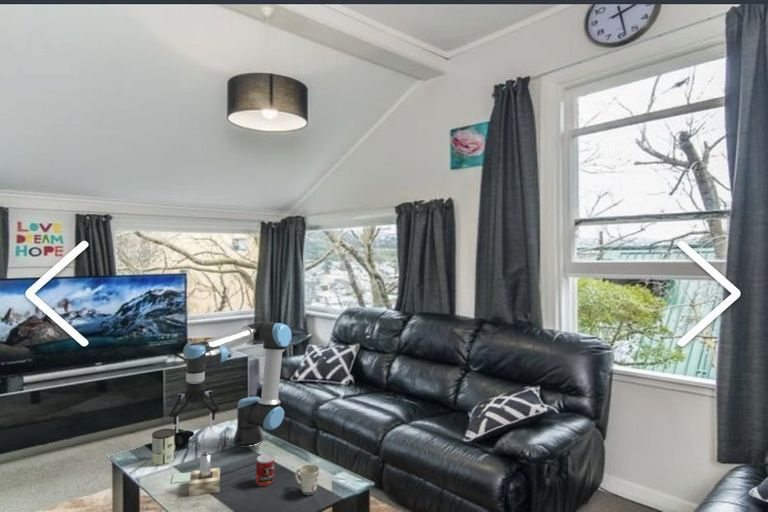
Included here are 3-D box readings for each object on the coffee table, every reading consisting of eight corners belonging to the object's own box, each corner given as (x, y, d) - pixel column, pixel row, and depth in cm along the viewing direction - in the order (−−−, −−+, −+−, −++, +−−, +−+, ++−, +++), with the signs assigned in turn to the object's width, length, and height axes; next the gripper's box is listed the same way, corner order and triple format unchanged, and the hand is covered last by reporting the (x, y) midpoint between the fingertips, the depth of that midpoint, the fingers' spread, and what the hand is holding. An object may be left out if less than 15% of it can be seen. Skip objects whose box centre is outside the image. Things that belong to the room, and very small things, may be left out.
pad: (192, 472, 215) (192, 471, 215) (191, 481, 207) (191, 480, 207) (173, 475, 212) (173, 474, 212) (171, 483, 205) (171, 482, 205)
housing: (219, 478, 210) (220, 467, 210) (219, 491, 199) (219, 480, 199) (191, 482, 206) (191, 471, 206) (189, 496, 195) (189, 484, 195)
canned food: (258, 488, 202) (258, 463, 202) (254, 480, 209) (254, 455, 209) (275, 484, 206) (276, 459, 206) (271, 476, 213) (271, 452, 213)
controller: (174, 443, 246) (174, 424, 246) (195, 445, 243) (195, 426, 243) (168, 446, 242) (169, 427, 242) (189, 449, 239) (190, 429, 239)
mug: (310, 499, 195) (310, 475, 194) (287, 490, 201) (288, 467, 201) (322, 490, 202) (323, 467, 202) (300, 482, 208) (301, 460, 208)
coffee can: (159, 456, 231) (159, 427, 231) (179, 457, 230) (179, 428, 230) (146, 465, 221) (147, 435, 221) (167, 467, 220) (168, 437, 220)
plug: (210, 483, 205) (211, 449, 205) (210, 488, 201) (210, 454, 201) (199, 485, 204) (200, 451, 204) (199, 490, 200) (200, 455, 199)
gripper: (224, 376, 214) (223, 422, 214) (163, 381, 203) (162, 430, 203) (226, 380, 207) (225, 428, 207) (163, 386, 196) (162, 436, 196)
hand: (194, 429), depth 205 cm, fingers open, 13 cm apart
